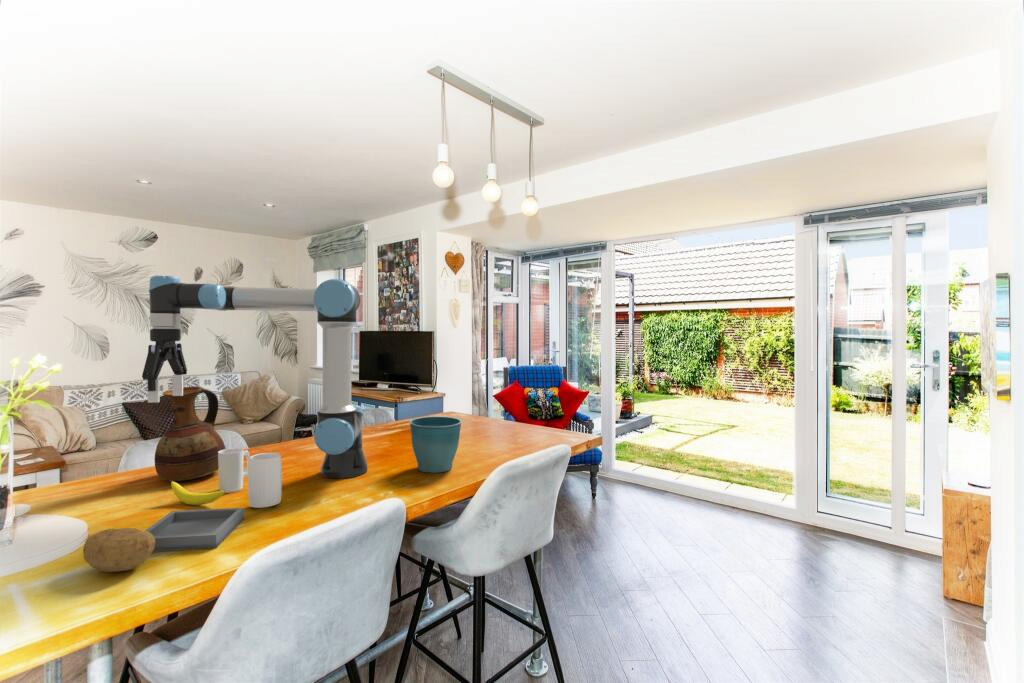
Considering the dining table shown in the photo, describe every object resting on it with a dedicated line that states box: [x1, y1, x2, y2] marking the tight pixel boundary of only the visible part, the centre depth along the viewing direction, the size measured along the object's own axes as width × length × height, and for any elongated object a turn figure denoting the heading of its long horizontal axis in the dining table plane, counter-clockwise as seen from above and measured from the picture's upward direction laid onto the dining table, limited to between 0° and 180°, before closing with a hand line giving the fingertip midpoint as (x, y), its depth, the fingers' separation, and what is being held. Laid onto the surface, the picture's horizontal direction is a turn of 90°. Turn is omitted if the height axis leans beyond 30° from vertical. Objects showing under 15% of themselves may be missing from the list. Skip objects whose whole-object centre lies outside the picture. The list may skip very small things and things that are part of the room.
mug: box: [218, 447, 251, 494], centre depth 152 cm, size 10×7×12 cm, turn 155°
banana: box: [169, 480, 226, 506], centre depth 138 cm, size 3×19×6 cm, turn 75°
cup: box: [247, 452, 283, 509], centre depth 137 cm, size 8×8×14 cm
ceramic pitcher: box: [154, 385, 227, 482], centre depth 164 cm, size 20×20×30 cm
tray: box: [144, 507, 245, 553], centre depth 119 cm, size 17×17×3 cm
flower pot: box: [409, 416, 462, 474], centre depth 175 cm, size 18×18×17 cm
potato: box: [82, 527, 155, 573], centre depth 102 cm, size 10×14×8 cm
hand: (166, 399), depth 148 cm, fingers open, 13 cm apart
